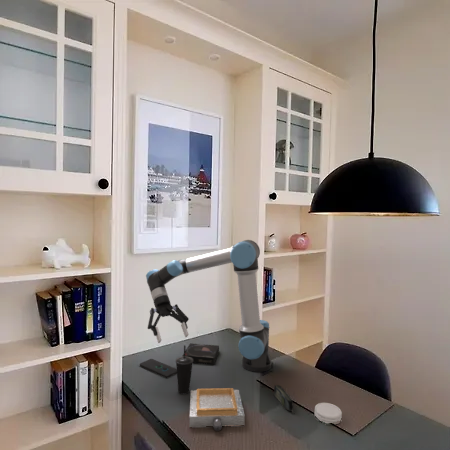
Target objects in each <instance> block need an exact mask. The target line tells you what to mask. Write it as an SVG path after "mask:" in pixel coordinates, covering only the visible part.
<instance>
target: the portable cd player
mask: <svg viewBox="0 0 450 450" xmlns="http://www.w3.org/2000/svg"><path fill="white" fill-rule="evenodd" d="M219 352H220V346H219V345H215V344H213V345H212V344H203V343H202V344H201V343H193V342H192V343H189V344H188V346H187V347H186V350H185V356H187V357H191V358H192V359H193V363H192V364H200V365H209V366H210V365H211V366H214V365H215V364H216V360H217V359H218V358H217V357H218V355H219ZM183 356H184V353H183V354H182V356H181V357H183Z"/></svg>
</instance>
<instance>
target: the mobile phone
mask: <svg viewBox="0 0 450 450" xmlns="http://www.w3.org/2000/svg"><path fill="white" fill-rule="evenodd" d="M273 388H274V389H273V395H274V397H275V398H276V400H278V402H279V403H280V404H281V406H282V407H283V409H285V410H287V411H290V412H291V413H292V412H293V413H294V414H296V412H295V411H294V410H293V407H294V405H293V404H294V403H293V399H292V398H291V397H290V395H289V393H287V391H285V389H284V388H283V387H282V386H281V385H278V384H274V386H273ZM293 413H292V414H293Z"/></svg>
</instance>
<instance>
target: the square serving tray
mask: <svg viewBox="0 0 450 450" xmlns="http://www.w3.org/2000/svg"><path fill="white" fill-rule="evenodd" d="M189 399H190V401H189V429H190V427H192V428H207V427H206V426H213V427H212V428H213V429H214V431H216V432H219V431H221V430H222V428H223V427H222V426H225V425H227V426H228V425H234V426H233V427H236V426H235V425H244V426H245V419H246V418H245V417H246V415H245V411H244V407H243V403H242V397H241V393H240V390H239V389H234V388H233V387H227V388H226V387H225V388H224V387H222V388H221V387H220V388H218V387H217V388H213V387H212V388H197V389H195V390H190V398H189Z"/></svg>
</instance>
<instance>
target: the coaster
mask: <svg viewBox="0 0 450 450" xmlns="http://www.w3.org/2000/svg"><path fill="white" fill-rule="evenodd" d="M342 415H343V412H342V410H341V409H340V407H339V406H337V405H335V404H332V403H330V402H319V403H317V404H316V405H315V406H314V417H315V416H316V417H317V418H318V419H319V420H320V421H323V422H325V423H333V422H337V421H340V420H341V418H342ZM342 419H343V418H342ZM341 421H342V420H341Z"/></svg>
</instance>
